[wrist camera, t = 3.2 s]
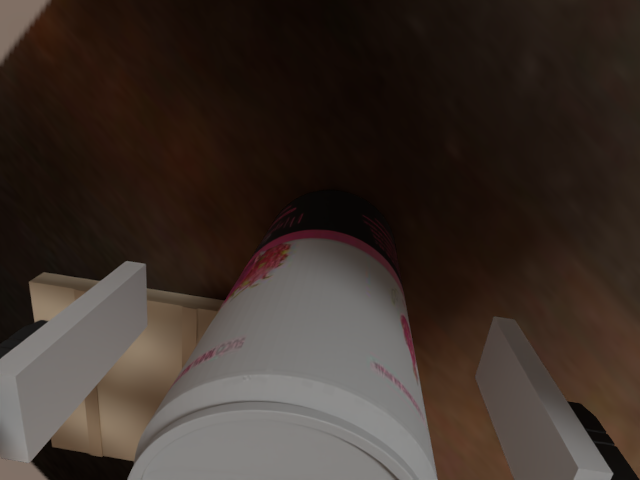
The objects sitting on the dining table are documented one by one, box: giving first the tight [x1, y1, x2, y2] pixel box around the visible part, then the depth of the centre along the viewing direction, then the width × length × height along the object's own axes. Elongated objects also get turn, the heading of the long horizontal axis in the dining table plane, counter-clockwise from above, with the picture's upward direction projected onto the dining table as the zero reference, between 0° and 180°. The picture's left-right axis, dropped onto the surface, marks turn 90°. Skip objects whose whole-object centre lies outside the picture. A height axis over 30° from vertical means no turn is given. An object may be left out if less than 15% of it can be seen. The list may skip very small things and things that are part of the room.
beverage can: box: [128, 190, 437, 480], centre depth 15 cm, size 6×7×15 cm
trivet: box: [29, 272, 224, 461], centre depth 26 cm, size 12×12×1 cm
